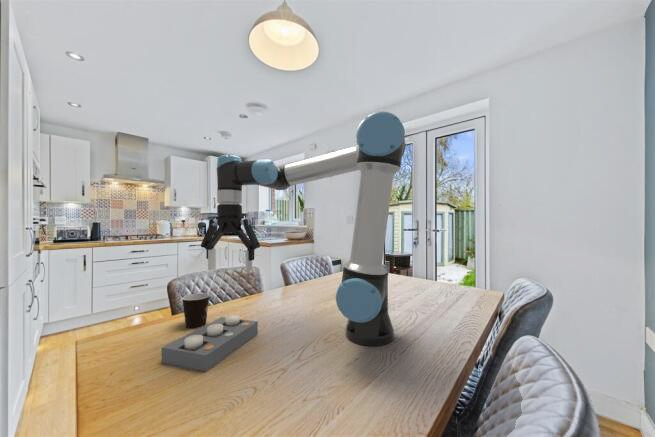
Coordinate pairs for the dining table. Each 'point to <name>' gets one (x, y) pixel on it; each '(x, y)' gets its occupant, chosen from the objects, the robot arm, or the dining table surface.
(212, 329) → the button
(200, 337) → the button
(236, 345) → the button board
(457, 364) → the dining table surface
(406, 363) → the dining table surface
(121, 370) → the dining table surface
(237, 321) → the button
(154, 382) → the dining table surface
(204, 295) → the coffee mug
